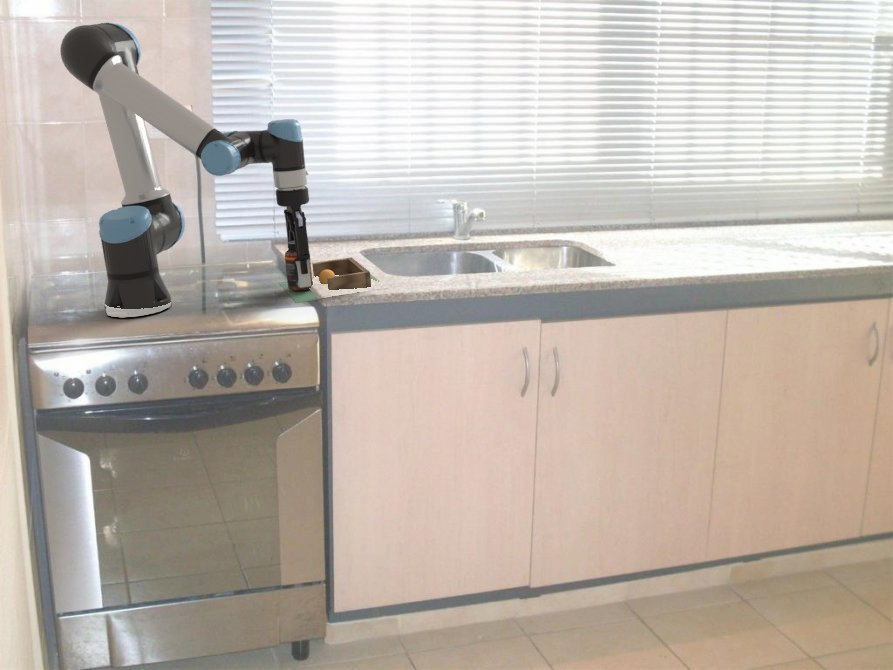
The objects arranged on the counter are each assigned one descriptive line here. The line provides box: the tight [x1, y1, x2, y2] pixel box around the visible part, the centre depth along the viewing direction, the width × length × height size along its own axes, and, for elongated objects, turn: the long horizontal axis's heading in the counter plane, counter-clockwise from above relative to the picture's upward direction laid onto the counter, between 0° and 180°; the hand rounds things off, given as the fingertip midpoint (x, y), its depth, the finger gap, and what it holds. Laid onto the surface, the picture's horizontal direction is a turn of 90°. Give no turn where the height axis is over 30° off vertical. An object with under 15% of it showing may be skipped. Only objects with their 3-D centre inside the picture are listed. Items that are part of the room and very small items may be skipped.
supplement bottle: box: [284, 241, 313, 290], centre depth 265 cm, size 6×6×11 cm
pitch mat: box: [279, 273, 380, 304], centre depth 268 cm, size 22×21×1 cm
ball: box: [319, 270, 335, 284], centre depth 268 cm, size 4×4×4 cm
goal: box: [311, 256, 371, 290], centre depth 269 cm, size 10×18×4 cm, turn 19°
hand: (302, 283), depth 266 cm, fingers closed on supplement bottle, 6 cm apart
